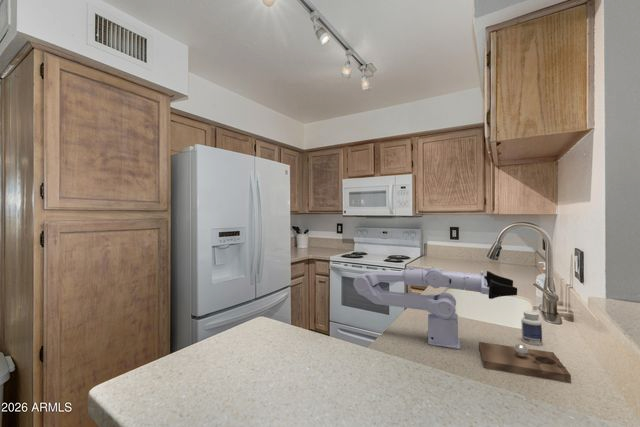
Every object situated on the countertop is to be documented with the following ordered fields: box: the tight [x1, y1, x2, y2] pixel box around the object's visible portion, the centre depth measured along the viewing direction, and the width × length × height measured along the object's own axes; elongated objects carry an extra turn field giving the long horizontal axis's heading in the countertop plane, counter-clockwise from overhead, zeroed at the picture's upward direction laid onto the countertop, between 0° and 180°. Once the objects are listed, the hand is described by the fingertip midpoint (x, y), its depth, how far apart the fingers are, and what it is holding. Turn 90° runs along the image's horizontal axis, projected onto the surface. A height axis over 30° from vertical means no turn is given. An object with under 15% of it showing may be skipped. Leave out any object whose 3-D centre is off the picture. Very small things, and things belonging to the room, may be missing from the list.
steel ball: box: [513, 343, 529, 357], centre depth 80 cm, size 4×4×4 cm
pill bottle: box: [521, 310, 543, 346], centre depth 94 cm, size 5×5×10 cm
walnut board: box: [478, 341, 572, 384], centre depth 80 cm, size 19×13×2 cm
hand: (514, 287), depth 86 cm, fingers open, 7 cm apart
